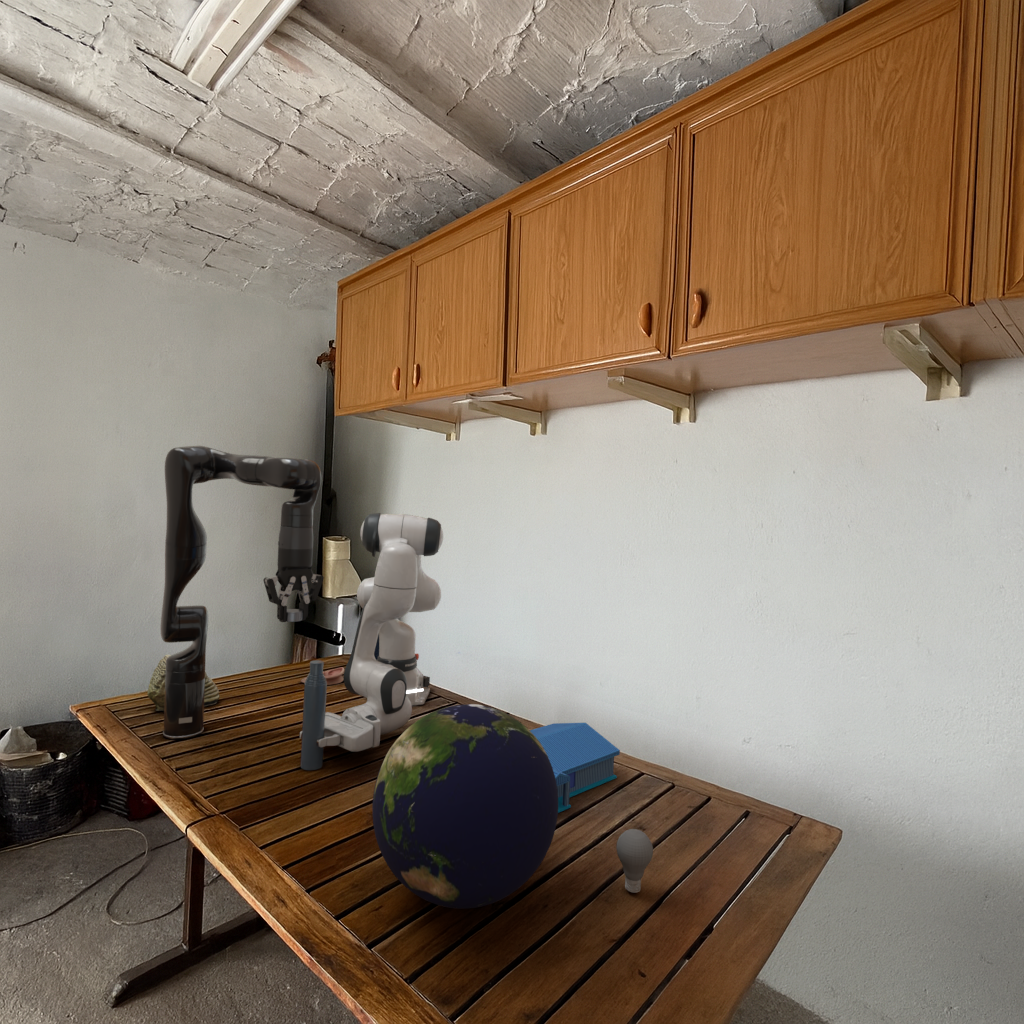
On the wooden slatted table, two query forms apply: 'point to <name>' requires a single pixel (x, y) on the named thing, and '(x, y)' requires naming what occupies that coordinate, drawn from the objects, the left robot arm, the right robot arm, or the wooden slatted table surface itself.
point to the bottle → (313, 717)
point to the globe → (465, 806)
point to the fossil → (158, 687)
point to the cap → (294, 615)
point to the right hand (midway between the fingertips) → (309, 739)
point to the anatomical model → (332, 676)
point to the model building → (576, 758)
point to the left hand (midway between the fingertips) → (292, 620)
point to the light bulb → (634, 857)
